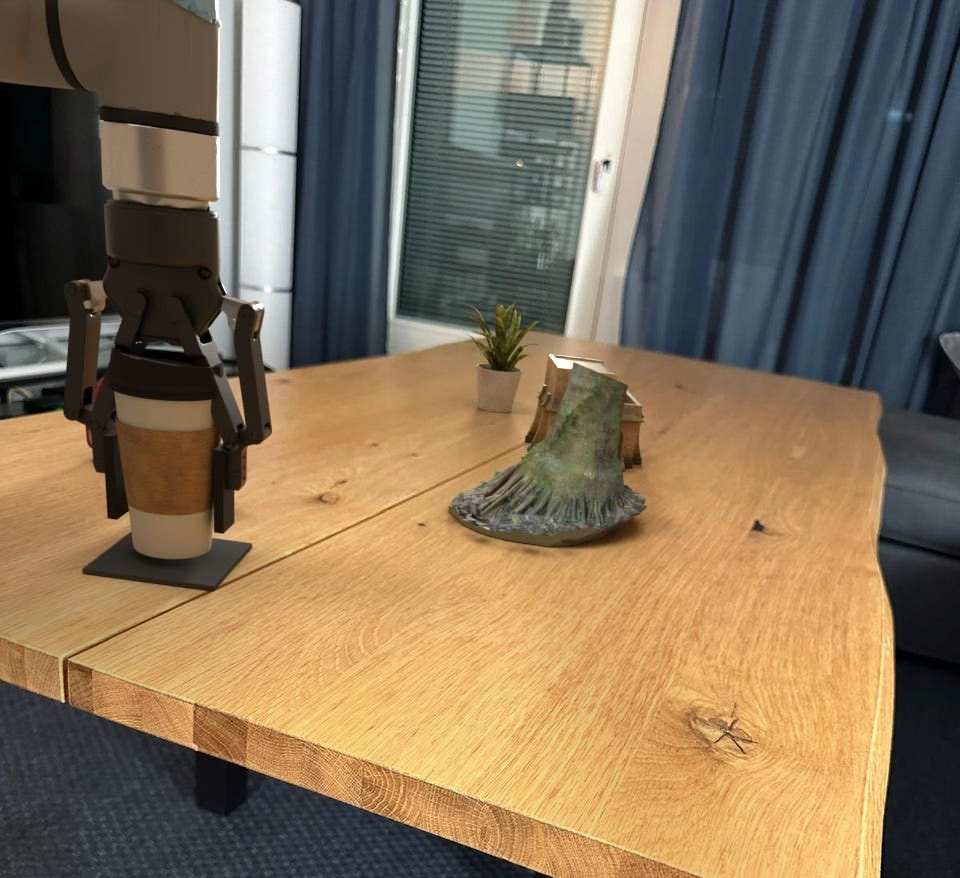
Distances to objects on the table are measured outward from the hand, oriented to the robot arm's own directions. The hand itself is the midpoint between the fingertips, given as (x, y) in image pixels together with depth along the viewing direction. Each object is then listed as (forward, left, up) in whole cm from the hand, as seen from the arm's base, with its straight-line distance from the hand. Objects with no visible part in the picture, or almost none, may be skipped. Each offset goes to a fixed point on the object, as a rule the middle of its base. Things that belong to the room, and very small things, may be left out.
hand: (172, 520), depth 73 cm
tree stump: (+30, +25, -3) cm, 39 cm away
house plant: (+21, +79, -3) cm, 82 cm away
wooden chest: (+35, +55, -3) cm, 65 cm away
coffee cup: (0, 0, -2) cm, 2 cm away
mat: (0, 0, -3) cm, 3 cm away
